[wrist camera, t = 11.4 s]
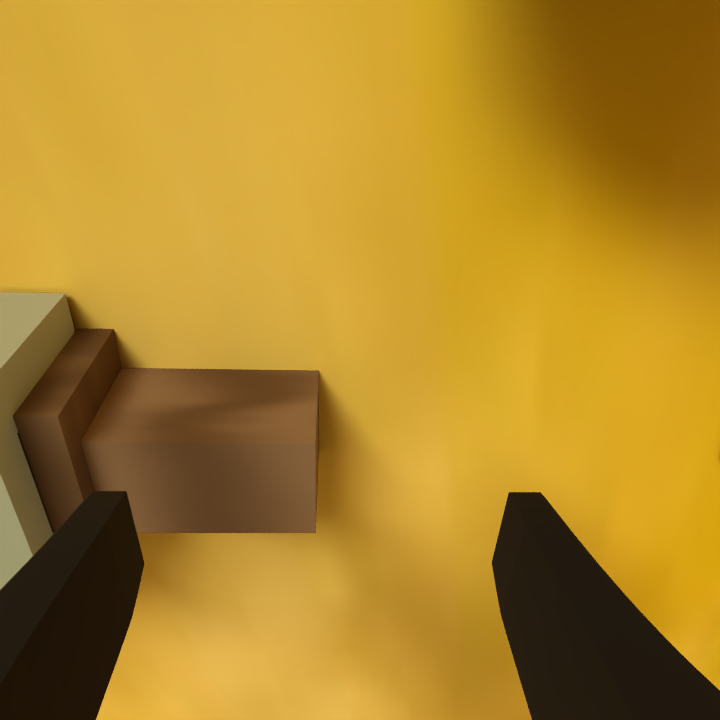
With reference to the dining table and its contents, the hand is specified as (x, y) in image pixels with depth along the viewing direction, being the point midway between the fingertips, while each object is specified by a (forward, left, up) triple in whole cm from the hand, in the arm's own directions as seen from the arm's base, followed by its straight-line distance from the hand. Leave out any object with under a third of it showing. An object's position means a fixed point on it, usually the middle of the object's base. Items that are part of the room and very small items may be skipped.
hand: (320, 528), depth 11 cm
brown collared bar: (+8, +5, -10) cm, 14 cm away
